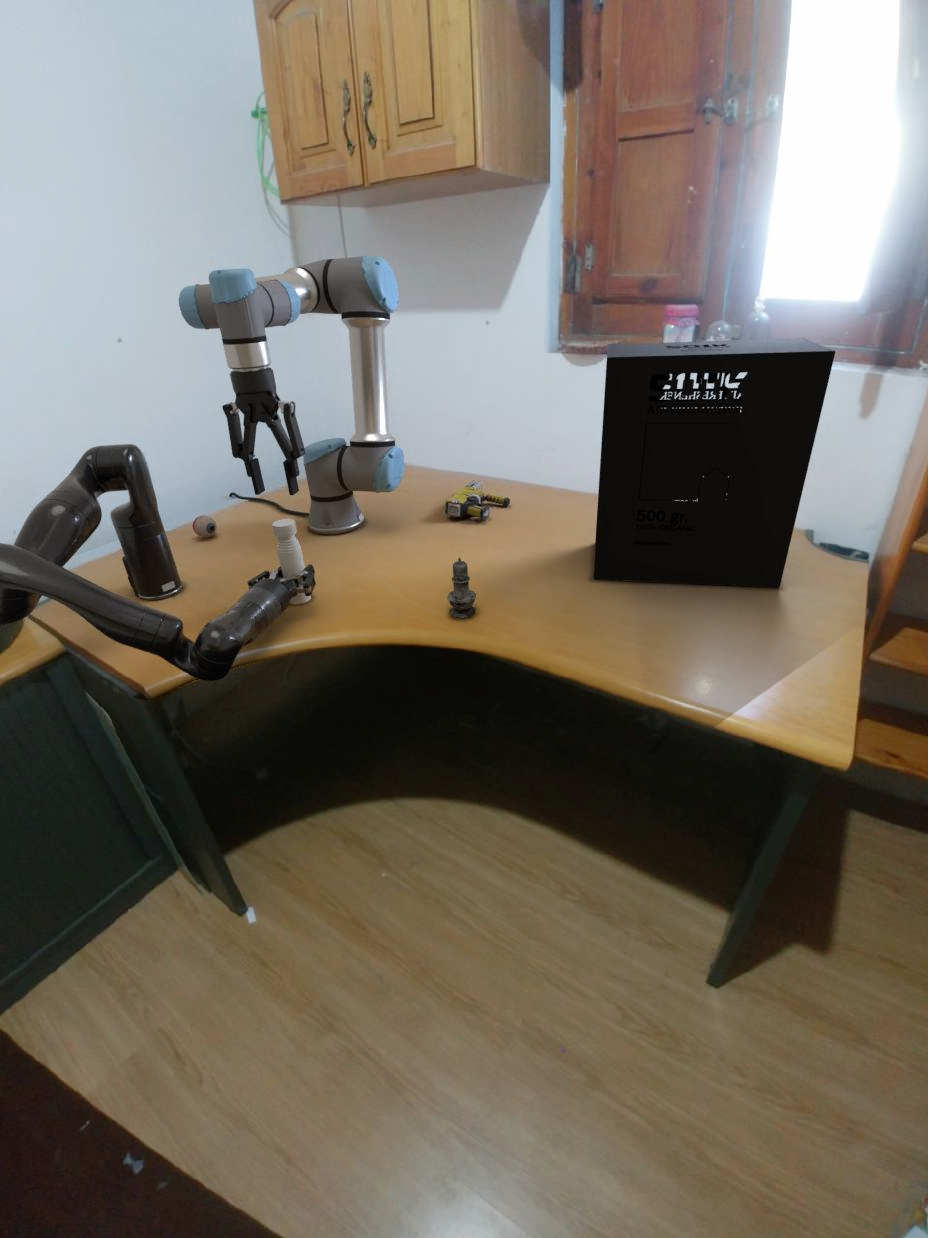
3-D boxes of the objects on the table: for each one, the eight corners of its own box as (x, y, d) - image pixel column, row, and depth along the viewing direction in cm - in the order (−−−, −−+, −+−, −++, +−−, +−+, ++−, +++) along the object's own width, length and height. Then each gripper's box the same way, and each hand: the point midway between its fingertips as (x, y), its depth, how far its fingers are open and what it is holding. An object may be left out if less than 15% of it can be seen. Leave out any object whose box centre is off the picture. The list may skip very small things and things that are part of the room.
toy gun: (518, 485, 181) (471, 478, 185) (495, 509, 161) (443, 500, 165) (516, 500, 184) (470, 493, 188) (494, 525, 164) (442, 517, 168)
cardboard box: (759, 548, 141) (803, 338, 119) (779, 587, 124) (835, 350, 102) (595, 543, 149) (607, 344, 126) (593, 579, 132) (607, 357, 109)
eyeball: (206, 542, 163) (200, 521, 160) (191, 538, 166) (185, 518, 163) (224, 534, 167) (218, 514, 164) (209, 531, 170) (203, 510, 167)
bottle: (310, 592, 134) (295, 518, 125) (311, 602, 130) (296, 526, 121) (288, 596, 133) (271, 522, 124) (289, 606, 129) (272, 530, 120)
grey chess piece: (474, 619, 120) (471, 564, 114) (445, 617, 121) (441, 563, 115) (479, 605, 124) (477, 551, 118) (451, 603, 126) (448, 550, 120)
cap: (296, 527, 126) (294, 517, 125) (297, 535, 122) (295, 524, 121) (274, 531, 125) (272, 520, 124) (274, 538, 121) (272, 528, 120)
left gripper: (233, 620, 119) (273, 581, 134) (299, 624, 117) (333, 584, 131) (223, 586, 116) (265, 550, 130) (292, 589, 113) (327, 553, 127)
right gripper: (310, 363, 109) (330, 487, 121) (212, 366, 113) (241, 486, 124) (292, 369, 103) (315, 499, 114) (189, 372, 107) (222, 498, 118)
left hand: (299, 567), depth 130 cm, fingers open, 5 cm apart
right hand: (277, 492), depth 119 cm, fingers open, 7 cm apart
